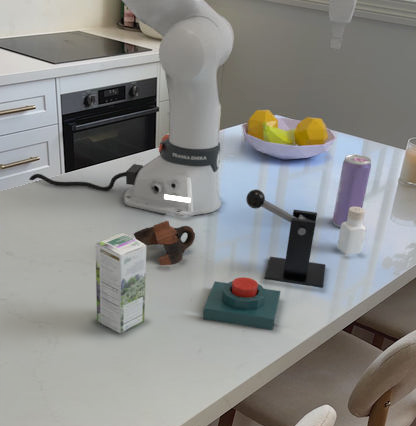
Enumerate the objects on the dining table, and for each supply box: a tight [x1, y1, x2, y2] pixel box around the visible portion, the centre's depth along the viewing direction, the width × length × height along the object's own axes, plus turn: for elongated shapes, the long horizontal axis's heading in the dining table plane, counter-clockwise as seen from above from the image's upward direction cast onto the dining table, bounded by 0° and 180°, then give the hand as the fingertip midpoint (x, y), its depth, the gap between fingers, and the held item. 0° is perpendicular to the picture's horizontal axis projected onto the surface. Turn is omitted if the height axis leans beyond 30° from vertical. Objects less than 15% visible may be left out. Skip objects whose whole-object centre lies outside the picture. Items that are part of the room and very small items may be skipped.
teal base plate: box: [202, 280, 281, 331], centre depth 116 cm, size 12×10×4 cm
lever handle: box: [246, 189, 310, 223], centre depth 123 cm, size 13×3×3 cm, turn 79°
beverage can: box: [332, 154, 372, 229], centre depth 147 cm, size 6×6×15 cm
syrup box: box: [95, 233, 147, 334], centre depth 107 cm, size 6×6×14 cm
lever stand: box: [264, 209, 326, 289], centre depth 126 cm, size 11×9×12 cm
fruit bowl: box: [241, 109, 337, 160], centre depth 188 cm, size 28×27×11 cm
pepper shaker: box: [336, 207, 367, 255], centre depth 137 cm, size 4×4×10 cm
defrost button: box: [231, 276, 259, 298], centre depth 115 cm, size 4×4×2 cm
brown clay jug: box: [133, 220, 196, 266], centre depth 131 cm, size 12×10×8 cm
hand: (335, 43), depth 120 cm, fingers open, 8 cm apart
